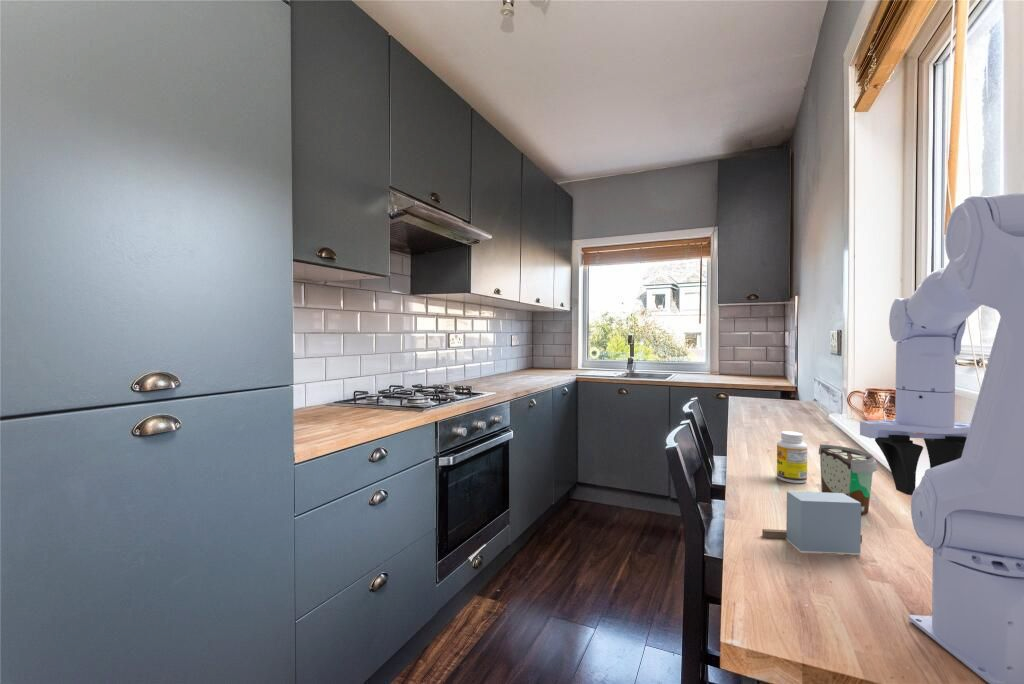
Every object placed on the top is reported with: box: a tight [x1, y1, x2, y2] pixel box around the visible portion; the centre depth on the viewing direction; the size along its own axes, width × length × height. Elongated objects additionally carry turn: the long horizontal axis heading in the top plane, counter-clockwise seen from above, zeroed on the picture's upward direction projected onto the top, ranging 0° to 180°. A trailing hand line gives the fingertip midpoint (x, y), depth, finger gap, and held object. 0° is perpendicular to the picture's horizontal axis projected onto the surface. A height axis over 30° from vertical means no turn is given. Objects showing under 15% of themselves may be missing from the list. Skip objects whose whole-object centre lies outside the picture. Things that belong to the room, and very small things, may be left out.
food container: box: [818, 443, 879, 517], centre depth 81 cm, size 12×6×10 cm, turn 168°
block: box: [785, 490, 862, 556], centre depth 65 cm, size 4×8×8 cm, turn 85°
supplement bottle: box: [776, 430, 808, 484], centre depth 96 cm, size 6×6×10 cm
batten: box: [761, 528, 863, 543], centre depth 68 cm, size 1×14×1 cm, turn 85°
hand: (922, 493), depth 58 cm, fingers open, 4 cm apart
